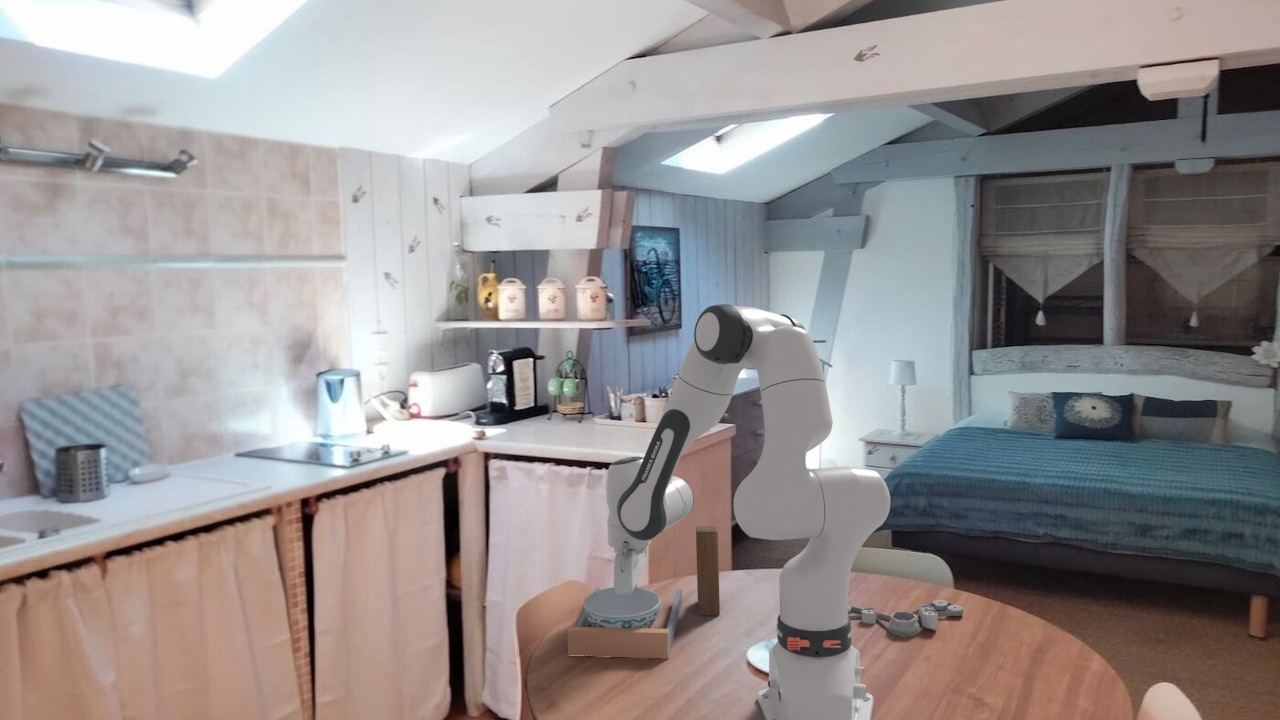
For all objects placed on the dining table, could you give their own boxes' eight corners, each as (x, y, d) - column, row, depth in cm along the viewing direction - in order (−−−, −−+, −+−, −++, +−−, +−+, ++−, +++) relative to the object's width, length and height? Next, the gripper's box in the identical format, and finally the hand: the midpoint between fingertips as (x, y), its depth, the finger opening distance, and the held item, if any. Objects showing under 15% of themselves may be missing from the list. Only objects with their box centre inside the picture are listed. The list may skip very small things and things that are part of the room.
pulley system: (980, 641, 175) (957, 608, 190) (979, 618, 174) (957, 586, 189) (836, 647, 177) (825, 614, 192) (835, 624, 176) (824, 592, 191)
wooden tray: (668, 659, 169) (667, 633, 169) (568, 656, 172) (567, 630, 171) (682, 602, 198) (681, 580, 197) (596, 601, 200) (595, 579, 200)
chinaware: (573, 632, 183) (572, 595, 182) (641, 617, 189) (639, 581, 188) (603, 661, 169) (602, 622, 168) (674, 644, 176) (673, 606, 175)
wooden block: (698, 600, 199) (696, 520, 197) (719, 600, 198) (717, 519, 197) (698, 616, 190) (695, 531, 188) (719, 616, 189) (717, 531, 188)
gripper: (637, 551, 176) (639, 620, 177) (650, 521, 196) (652, 584, 198) (605, 550, 177) (607, 619, 178) (621, 521, 197) (623, 583, 198)
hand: (631, 600), depth 188 cm, fingers closed
